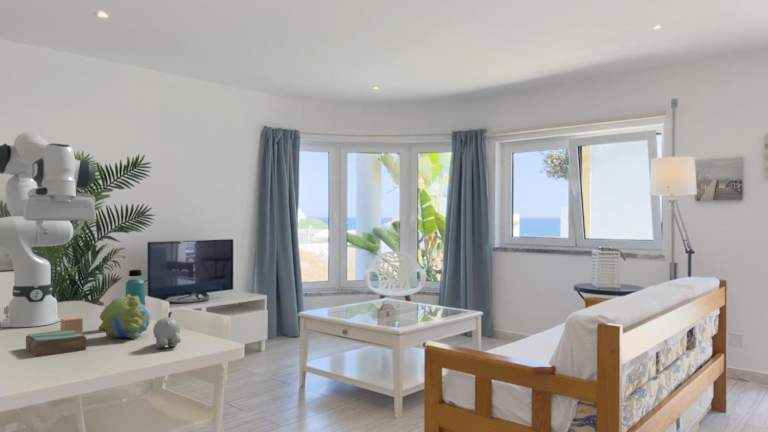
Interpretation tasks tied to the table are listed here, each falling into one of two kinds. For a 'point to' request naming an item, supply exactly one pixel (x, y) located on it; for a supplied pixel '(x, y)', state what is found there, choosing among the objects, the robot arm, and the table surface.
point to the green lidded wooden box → (55, 342)
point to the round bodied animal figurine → (166, 332)
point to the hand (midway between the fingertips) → (60, 234)
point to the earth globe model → (124, 318)
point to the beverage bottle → (136, 286)
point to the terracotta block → (72, 324)
